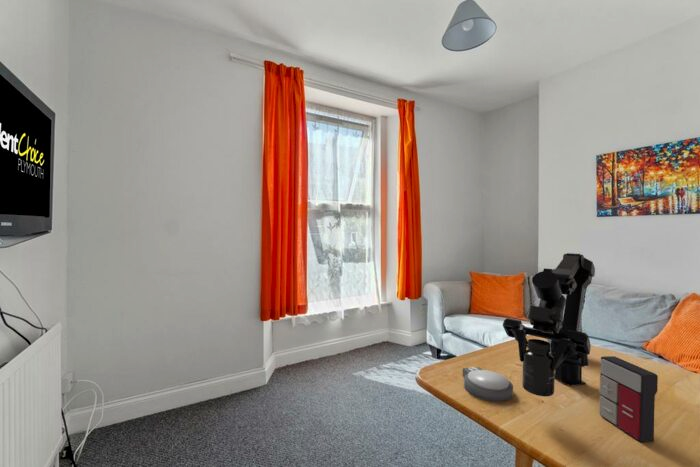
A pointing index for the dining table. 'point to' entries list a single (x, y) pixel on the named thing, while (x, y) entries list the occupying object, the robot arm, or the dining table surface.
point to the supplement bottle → (538, 368)
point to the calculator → (628, 397)
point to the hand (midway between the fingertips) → (536, 365)
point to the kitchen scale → (487, 385)
